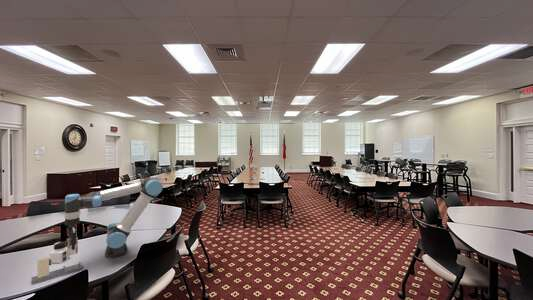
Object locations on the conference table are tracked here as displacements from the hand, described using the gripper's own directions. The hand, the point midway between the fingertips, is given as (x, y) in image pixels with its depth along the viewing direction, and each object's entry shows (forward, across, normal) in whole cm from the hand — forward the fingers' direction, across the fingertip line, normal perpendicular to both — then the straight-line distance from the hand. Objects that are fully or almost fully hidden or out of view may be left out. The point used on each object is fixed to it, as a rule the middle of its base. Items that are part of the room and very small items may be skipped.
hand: (72, 253), depth 153 cm
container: (+12, +23, +4) cm, 26 cm away
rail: (+12, 0, +7) cm, 13 cm away
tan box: (0, 0, 0) cm, 0 cm away
